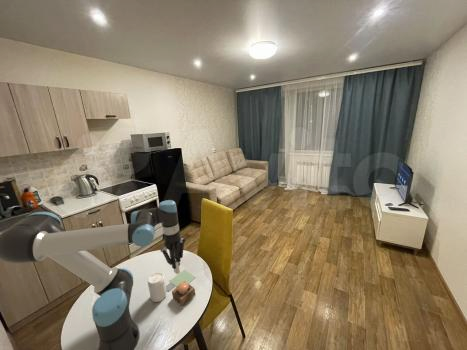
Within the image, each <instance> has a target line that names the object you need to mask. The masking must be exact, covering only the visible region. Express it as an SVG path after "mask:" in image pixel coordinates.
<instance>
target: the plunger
mask: <svg viewBox="0 0 467 350" xmlns="http://www.w3.org/2000/svg"><path fill="white" fill-rule="evenodd" d="M189 285H190V284H189ZM189 285H188V283H187V282H182V283H180V284H179V285H178V286H177V287H176V288H177V291H178V292H179V293H180V295H182V296H183V295H184V294H185V293H186V292H187V291H188V288H189Z"/></svg>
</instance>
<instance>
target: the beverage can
mask: <svg viewBox="0 0 467 350" xmlns="http://www.w3.org/2000/svg"><path fill="white" fill-rule="evenodd" d="M147 285H148V291H149V296H150V300H151V301H152V302H154V303H157V302H161V301H162V300H164V299H165V298H166V296H167V294H168V293H167V292H168V291H167V290H166V286H167V285H166V280H165V276H164V275H163V274H162V273H161V272H156V273H154V274H151V275H150V276H149V278H148V281H147Z"/></svg>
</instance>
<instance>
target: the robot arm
mask: <svg viewBox="0 0 467 350" xmlns="http://www.w3.org/2000/svg"><path fill="white" fill-rule="evenodd" d="M158 205H159V206H157V207H151V208H146V209H140V210H136V211H133V212H132V213H131V215H130V223H123V224H117V225H116V224H114V225H108V226H107V225H105V226H98V227H91V228H83V229H82V228H81V229H75V230H67V229H65V228H64V227H62V221H61V219H60V216H58V215H56V214H54V213H52V212H50V211H36V212H33V213H30V214H28V215H26V216H24V217H22V218H21V219H20V220H19V221H17V222H16V223H14V224H13V225H11V226H9V228H6V229H5V230H3V231H2V232H1V233H0V260H1V261H2V262H6V263H9V264H29V263H35V262H41V261H44V260H45V259H46V258H47V257H48V258H49V259H51V260H52V261H54V262H56V263H57V264H59V265H60V266H62V267H63V268H64V269H66V270H68V271H69V272H71V273H73V274H74V275H76V276H77V277H79V278H80V279H81V280H83V281H85V282H86V283H88V284H90V286H92V287H93V292H94V293H95V294H96V295H98V296H99V297H97V299H95V302H94V304H93V305H92V309H91V312H92V321H93V323H94V325H95V328H96V331H97V334H98V338H99V343H98V350H135V348H136V347H137V345H138V343H139V340H140V336H141V335H140V334H141V333H140V329H139V326H138V325H137V324H136V322H135V321H133V319H132V317H131V312H130V302H131V298H132V292H133V291H132V290H133V286H134V276H133V273H132V272H131V271H130V270H129V269H127V268H124V267H123V268H121V267H120V268H119V267H110V266H108V265H107V264H105V263H104V262H102V260H101V259H99V258H98V257H96V256H95V255H93V254H92V253H91V252H88V251H89V250H97V249H103V248H110V247H115V246H122V245H129V244H134V245H135V246H136V247H142V248H143V247H146V246H149V245H150V244H151V243H152V242H153V240H154V238H155V234H156V230H155V225H159V224H161V226H162V228H161V229H162V233H163V241H164V244H163V245H164V247H163V248H161V249H160V250H159V251H160V252H161V253H162V254H163V256H164V259H165V260H166V263H167V264H168V265H170V266H171V268H172V269H173V272H174V273H175V274H176V275H178V274H179V273H181V272H180V266H181V259H182V258H183V257H184V249H185V248H184V247H185V241H186V239H184V238H183V237H181V234H180V233H181V231H180V224H179V216H178V210H177V209H178V207H177V203H176V202H175V201H174V200H172V199H168V200H164V201H161V202H160V203H159V204H158ZM168 252H169V253H168Z"/></svg>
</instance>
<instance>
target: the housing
mask: <svg viewBox="0 0 467 350" xmlns="http://www.w3.org/2000/svg"><path fill="white" fill-rule="evenodd" d="M184 282H185V281H184ZM188 285H189V288H188V291H187V292H186V293H185V294H184V295H183V296H182V295H180V293H179V292H178V291H177V287H176V288H175V287H174V288H173V289H172V291H171V294H172V299H173V300H174V301H175V302H177V303H178V304H179V305H180V306H181V307H184V306H185V305H186V304H187V303H189V301H191V299H193V298H194V297H195V296H196V288H195V287H194V286H192V285H191V284H190V283H189V284H188Z"/></svg>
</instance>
